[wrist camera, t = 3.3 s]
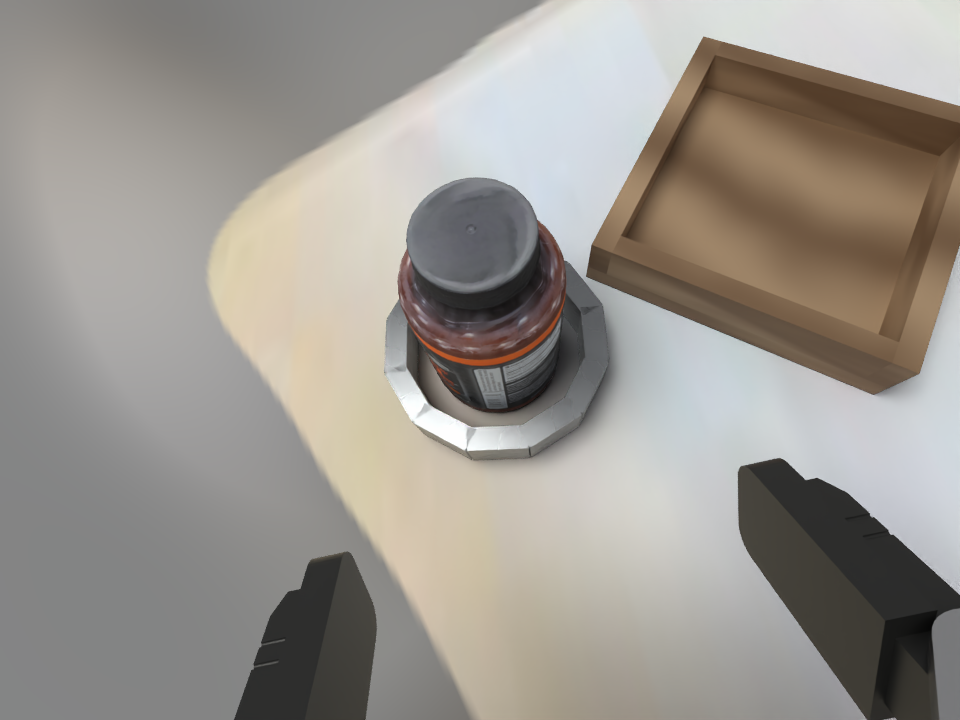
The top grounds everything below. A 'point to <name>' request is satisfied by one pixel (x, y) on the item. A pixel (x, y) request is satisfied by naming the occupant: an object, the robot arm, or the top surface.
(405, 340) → the holder ring
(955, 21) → the top surface
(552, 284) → the supplement bottle
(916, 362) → the tray
